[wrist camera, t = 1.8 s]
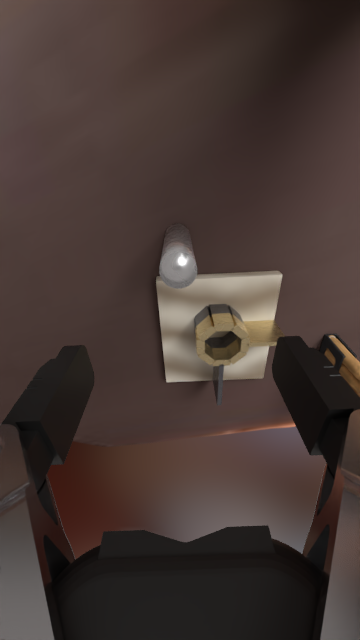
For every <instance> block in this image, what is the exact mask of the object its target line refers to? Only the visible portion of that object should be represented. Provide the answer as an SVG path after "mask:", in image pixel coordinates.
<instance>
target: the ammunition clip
mask: <svg viewBox="0 0 360 640" xmlns="http://www.w3.org/2000/svg"><path fill="white" fill-rule="evenodd" d="M319 352H321V353H322V354H324V355H325V356H326V357H327V358H328V359H329V361H330V362H331V363H332V364H333V365H334V368H336V369H337V370H338V372H339V373H340V375H341V376H343V378H344V379H345V380H346V381H347V383H348V384H349V385H350V386H351V388H352V389H353V390H354V391H355V392H356V394H357V395H358V396H359V397H360V362H359V361H358V360H357V359H356V357H357V356H356V354H355V353H354V352H353V351H352V350H351V349H350V348H349V347H348V346H347V345H346V344H345V342H344V341H343V340H342V339H341V338H340V337H339V336H338V335H337V334H326V335H324V338H323V341H322V344H321V348H320V351H319Z"/></svg>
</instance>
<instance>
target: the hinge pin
mask: <svg viewBox="0 0 360 640" xmlns="http://www.w3.org/2000/svg"><path fill="white" fill-rule="evenodd" d="M159 273H160V277H161V279H162V281H163V282H164V283H165V284H166V285H167V286H169V287H171V288H176V289H181V288H185V287H187V286H189V285H190V284H192V283H193V281H194V280H195V278H196V276H197V265H196V261H195V256H194V251H193V247H192V242H191V238H190V233H189V230H188V228H187V227H186V226H185V225H183V224H181V223H174V224H172V225H170V226H169V227H168V228H167V230H166V233H165V238H164V244H163V250H162V256H161V262H160V267H159Z"/></svg>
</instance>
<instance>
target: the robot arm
mask: <svg viewBox="0 0 360 640" xmlns="http://www.w3.org/2000/svg"><path fill="white" fill-rule="evenodd" d="M272 373H273V378H274V380H275V383H276V385H277V387H278V389H279V391H280V393H281V395H282V397H283V399H284V402H285V404H286V406H287V408H288V410H289V412H290V414H291V416H292V418H293V421H294V423H295V425H296V427H297V429H298V431H299V433H300V435H301V437H302V440H303V442H304V444H305V446H306V448H307V450H308V452H309V454H310V455H323V457H324V459H325V460H326V462H327V463H326V465H325V468H324V472H323V476H322V481H321V485H320V490H319V494H318V499H317V503H316V507H315V512H314V516H313V521H312V524H311V527H310V530H309V532H308V535H307V538H306V542H305V545H304V549H303V553H302V554H301V553H300V552H298V551H297V550H295V549H293V548H292V547H290V546H289V545H286V544H284V543H282V542H280V541H278V540H274V539H272V538H271V535H270V531H269V527H268V526H242V527H226V528H224V529H221V530H219V531H216V532H214V533H211V534H208V535H206V536H203V537H201V538H199V539H196V540H193V541H190V542H187V543H186V542H180V541H177V540H174V539H170V538H167V537H164V536H161V535H157V534H154V533H151V532H148V531H145V530H135V531H108V532H103V536H102V542H101V545H100V546H97V547H95V548H93V549H91V550H89V551H88V552H86V553H85V554H83V555H81V556H80V557H79V558H77V559H76V560H75V557H74V554H73V551H72V548H71V546H70V543H69V541H68V539H67V537H66V535H65V533H64V530H63V527H62V524H61V520H60V517H59V514H58V510H57V507H56V503H55V499H54V496H53V493H52V490H51V486H50V482H49V479H48V477H47V473H48V470H49V468H50V466H51V465H56V464H64V461H65V459H66V456H67V454H68V451H69V449H70V446H71V443H72V441H73V438H74V436H75V433H76V430H77V428H78V425H79V423H80V420H81V417H82V415H83V412H84V410H85V407H86V404H87V402H88V399H89V397H90V394H91V391H92V389H93V386H94V372H93V369H92V365H91V362H90V359H89V356H88V353H87V350H86V347H85V346H84V345H79V346H64V347H63V348H62V349H61V351H60V352H59V354H58V356H57V357H56V359H51V360H49V361H48V362H47V363H46V364H44V365H43V366H42V367H41V368H40V369H39V370H38V372H37V373H36V375H35V376H34V378H33V380H32V381H31V382H30V383H29V385H28V386H27V389H25V391H24V392H23V394H22V395H21V396H20V398H19V399H18V401H17V402H16V404H15V405H14V407H13V408H12V409H11V411H10V412H9V414H8V415H7V417H6V418H5V420H4V421H3V422H2V424H1V425H0V640H360V397H359V396H358V395H357V394H356V392H355V391H354V390H353V389H352V388H351V386H350V385H349V384H348V383H347V381H346V380H345V379H344V378H343V376H341V375H340V373H339V372H338V370H337V369H336V368H334V365H333V364H332V363H331V362H330V361H329V359H328V358H327V357H326V356H325V355H324V354H322V353H321V352H319V351H318V350H316V349H315V348H309V347H308V346H307V345H306V343H305V342H304V341H303V339H302V338H301V337H300V336H287V337H279V338H278V340H277V344H276V349H275V354H274V359H273V364H272Z"/></svg>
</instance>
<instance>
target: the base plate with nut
mask: <svg viewBox="0 0 360 640" xmlns="http://www.w3.org/2000/svg"><path fill="white" fill-rule="evenodd" d="M281 280H282V274H281V273H280V272H279V271H261V272H240V273H219V274H198V275H197V276H196V278H195V280H194V281H193V283H192V284H190V285H189V286H187V287H185V288H181V289H176V288H171V287H169V286H167V285H166V284H165V283H164V282H163V281H162V279H161V277H160V276H157V277H156V287H157V297H158V306H159V316H160V326H161V335H162V345H163V355H164V364H165V374H166V382H185V381H209V380H213V384H214V390H215V396H216V401H217V405H221V402H222V387H223V380H232V379H256V378H263V376H264V371H265V366H266V360H267V355H268V350H269V346H276V344H277V340H278V338H279V337H285V336H284V334H283V333H282V331H281V330H280V328H279V327H278V325H277V324H276V322H275V321H274V318H275V312H276V307H277V302H278V296H279V291H280V286H281Z"/></svg>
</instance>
